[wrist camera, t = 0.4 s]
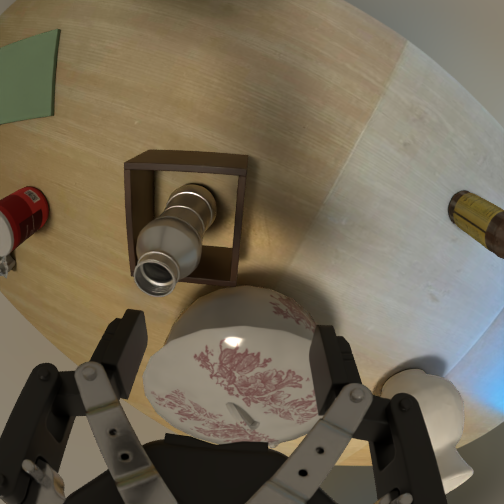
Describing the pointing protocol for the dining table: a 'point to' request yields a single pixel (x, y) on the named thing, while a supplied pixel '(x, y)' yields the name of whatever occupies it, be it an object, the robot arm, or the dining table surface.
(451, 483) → the vase
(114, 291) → the dining table surface
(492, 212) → the sauce bottle
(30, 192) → the canned food
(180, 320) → the chamber pot
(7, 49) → the mat
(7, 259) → the egg carton
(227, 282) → the crate
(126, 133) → the dining table surface
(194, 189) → the plastic bottle
